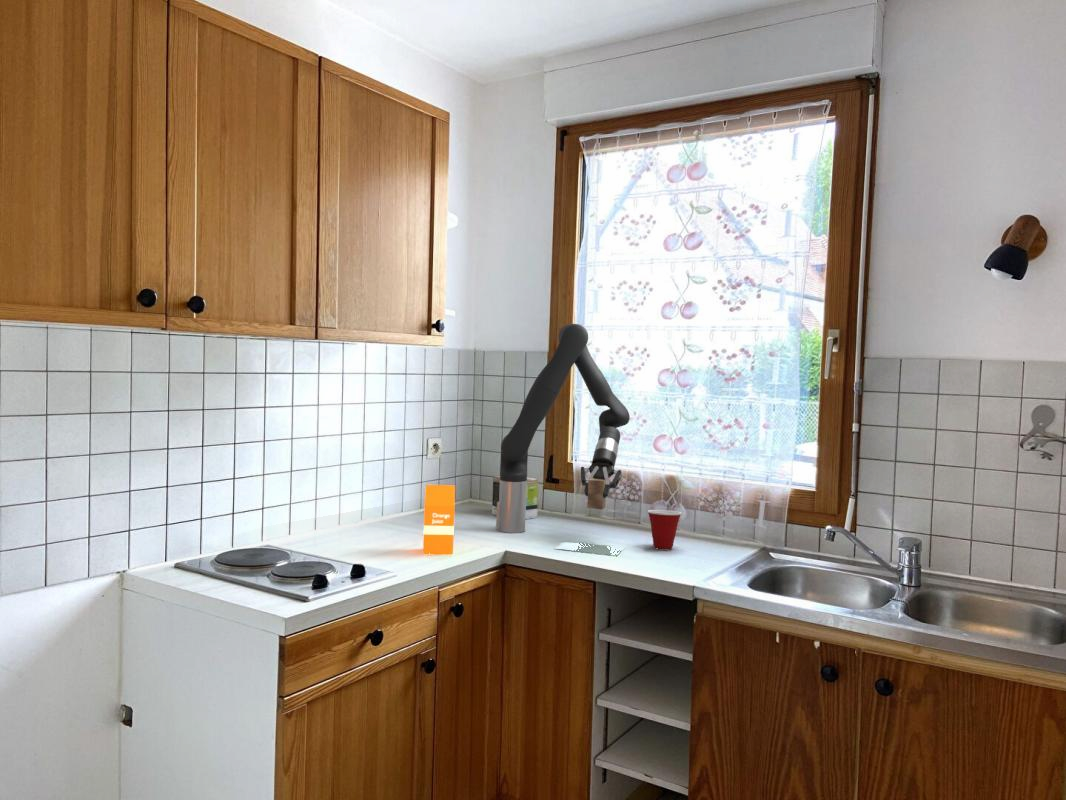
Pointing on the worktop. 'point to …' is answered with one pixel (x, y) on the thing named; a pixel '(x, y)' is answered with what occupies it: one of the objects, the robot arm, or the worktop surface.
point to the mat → (595, 549)
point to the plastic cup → (663, 527)
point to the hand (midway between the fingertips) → (595, 495)
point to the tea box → (530, 496)
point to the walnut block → (596, 494)
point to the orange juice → (439, 519)
